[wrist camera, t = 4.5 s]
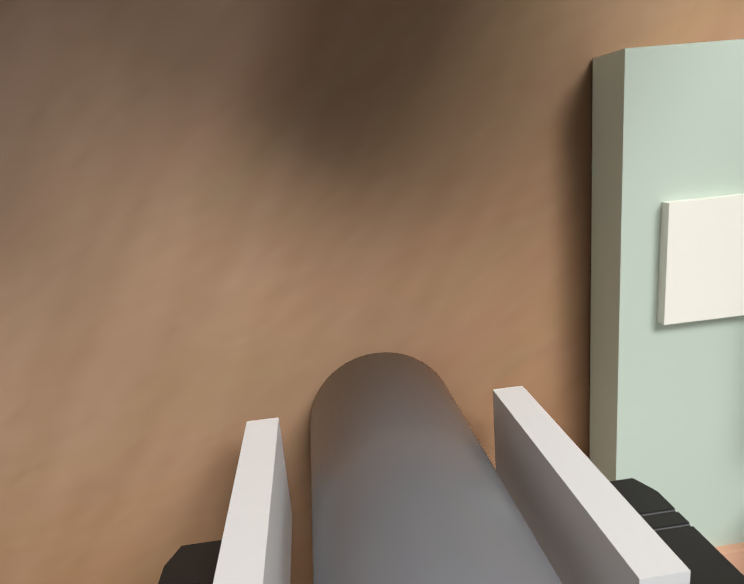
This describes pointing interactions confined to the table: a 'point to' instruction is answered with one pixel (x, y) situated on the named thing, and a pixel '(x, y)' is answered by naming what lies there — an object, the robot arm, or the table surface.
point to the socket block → (671, 279)
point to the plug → (409, 486)
